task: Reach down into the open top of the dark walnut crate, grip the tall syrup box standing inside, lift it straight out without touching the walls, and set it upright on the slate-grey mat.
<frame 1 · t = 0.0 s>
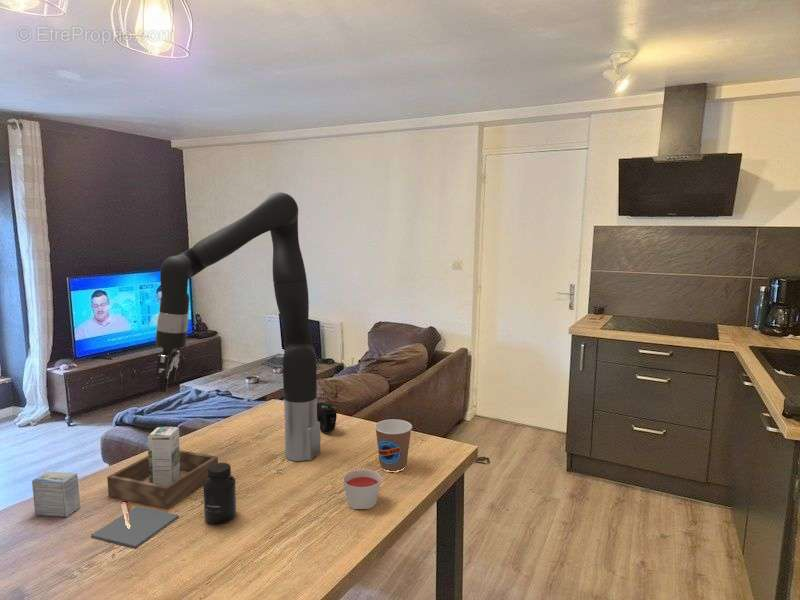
hand: (166, 386, 136), 22 cm above the table, tool pointing down, fingers open, 8 cm apart
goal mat: (136, 526, 109), on the table
walnut crate: (165, 484, 127), on the table
syrup box: (166, 485, 127), resting in walnut crate
supplement bottle: (220, 518, 112), on the table
coffee cup: (393, 468, 137), on the table
candle: (362, 503, 119), on the table
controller: (325, 431, 164), on the table
medicine box: (58, 512, 114), on the table
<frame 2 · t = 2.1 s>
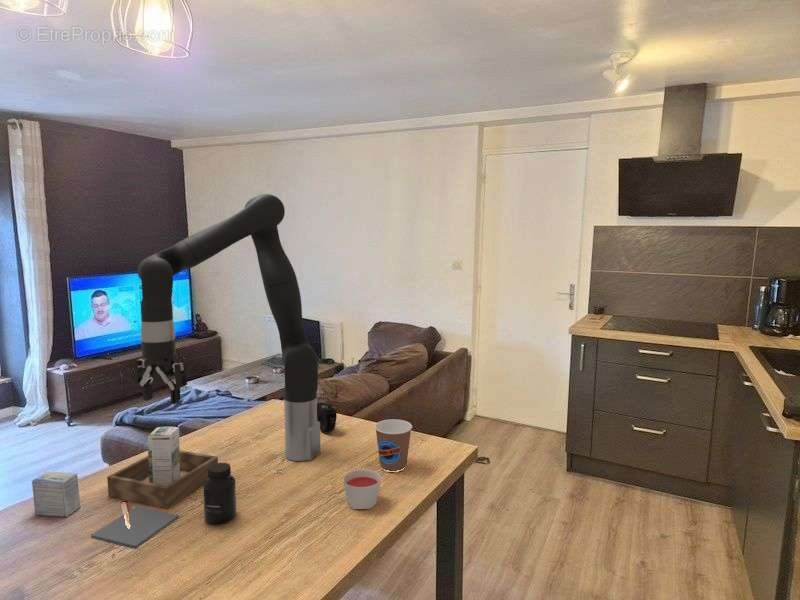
hand: (161, 401, 124), 22 cm above the table, tool pointing down, fingers open, 8 cm apart
nothing on the table moved.
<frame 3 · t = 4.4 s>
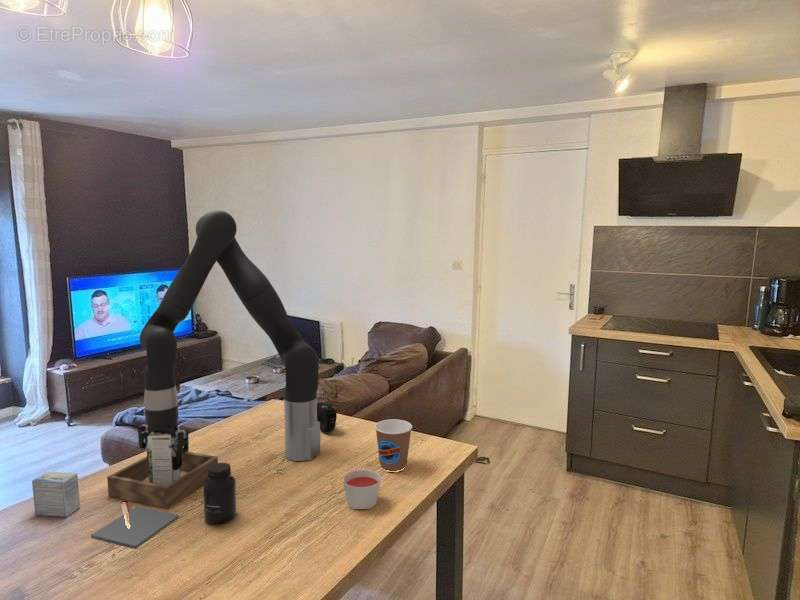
hand: (164, 466, 126), 5 cm above the table, tool pointing down, fingers closed on syrup box, 7 cm apart
syrup box: (166, 485, 127), resting in walnut crate, touching gripper
everything else where it was.
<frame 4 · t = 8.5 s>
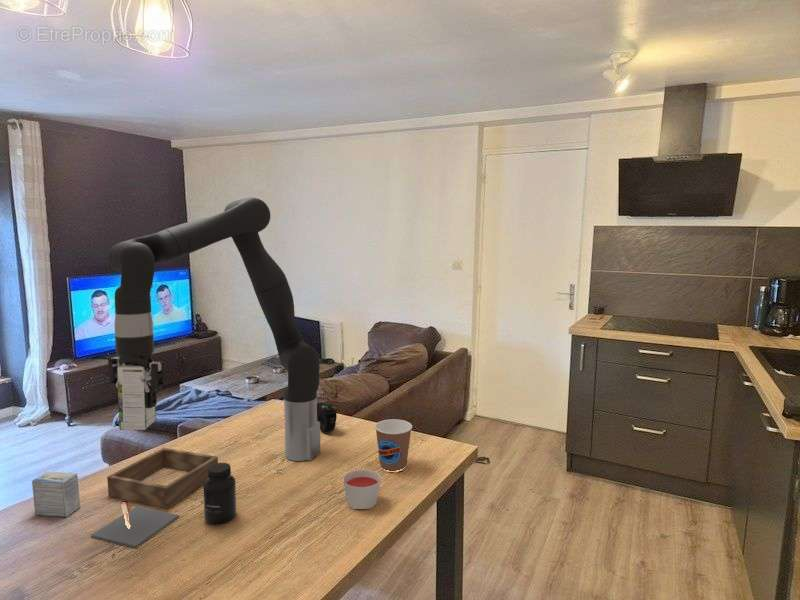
hand: (137, 405, 112), 25 cm above the table, tool pointing down, fingers closed on syrup box, 7 cm apart
syrup box: (138, 426, 112), point 20 cm above the table, touching gripper
everything else where it was.
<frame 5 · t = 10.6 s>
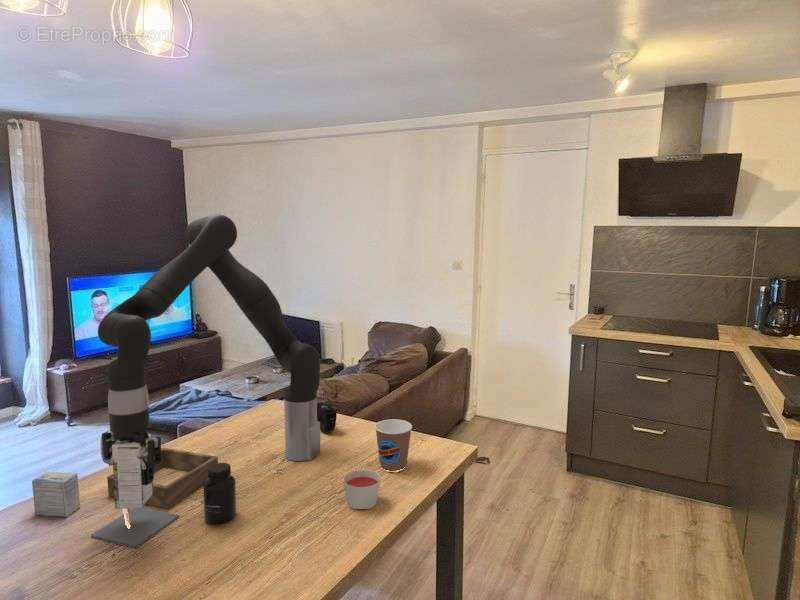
hand: (133, 480, 107), 11 cm above the table, tool pointing down, fingers closed on syrup box, 7 cm apart
syrup box: (135, 502, 108), point 5 cm above the table, touching gripper
everything else where it was.
when the fingers open (7 cm above the table, at t = 12.5 s): syrup box drops 1 cm, resting on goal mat.
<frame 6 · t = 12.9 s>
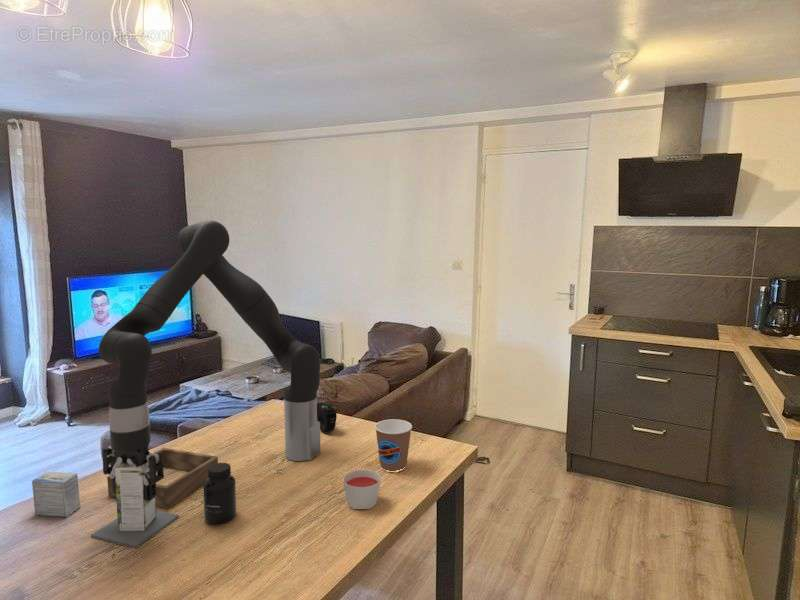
hand: (134, 496, 108), 7 cm above the table, tool pointing down, fingers open, 8 cm apart
syrup box: (138, 525, 109), resting on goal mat
everything else where it was.
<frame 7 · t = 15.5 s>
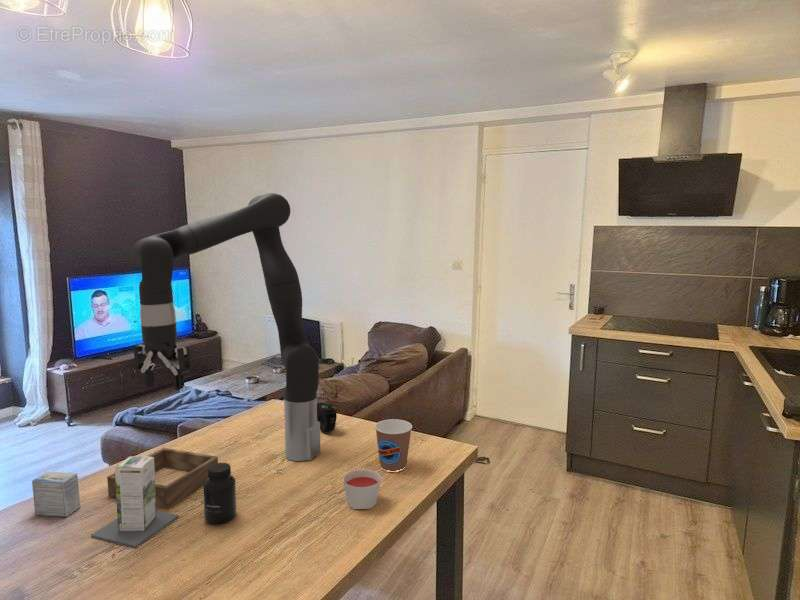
hand: (164, 388, 120), 27 cm above the table, tool pointing down, fingers open, 8 cm apart
nothing on the table moved.
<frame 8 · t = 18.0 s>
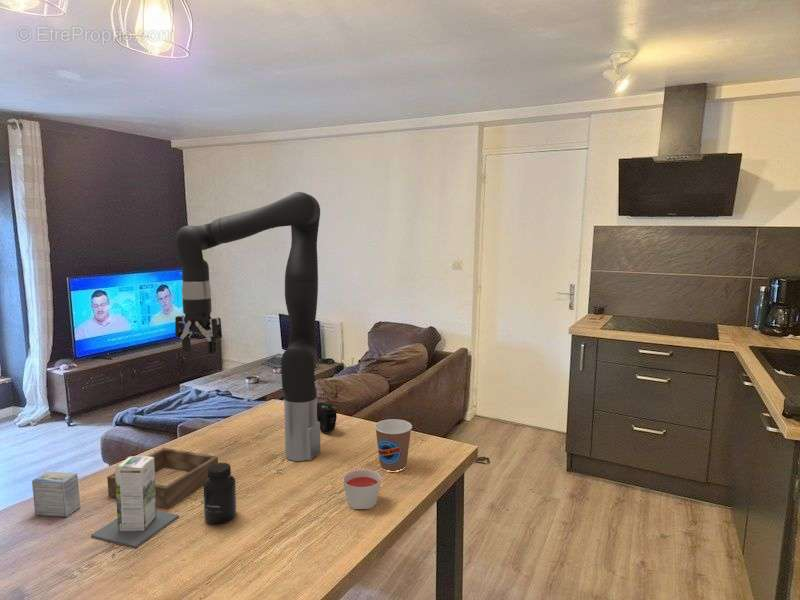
hand: (199, 352, 143), 30 cm above the table, tool pointing down, fingers open, 8 cm apart
nothing on the table moved.
at the end: syrup box inside the target area on the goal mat (0.4 cm from its centre), point 0.3 cm above the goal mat's base; syrup box tilted 0°; syrup box touching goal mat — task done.
